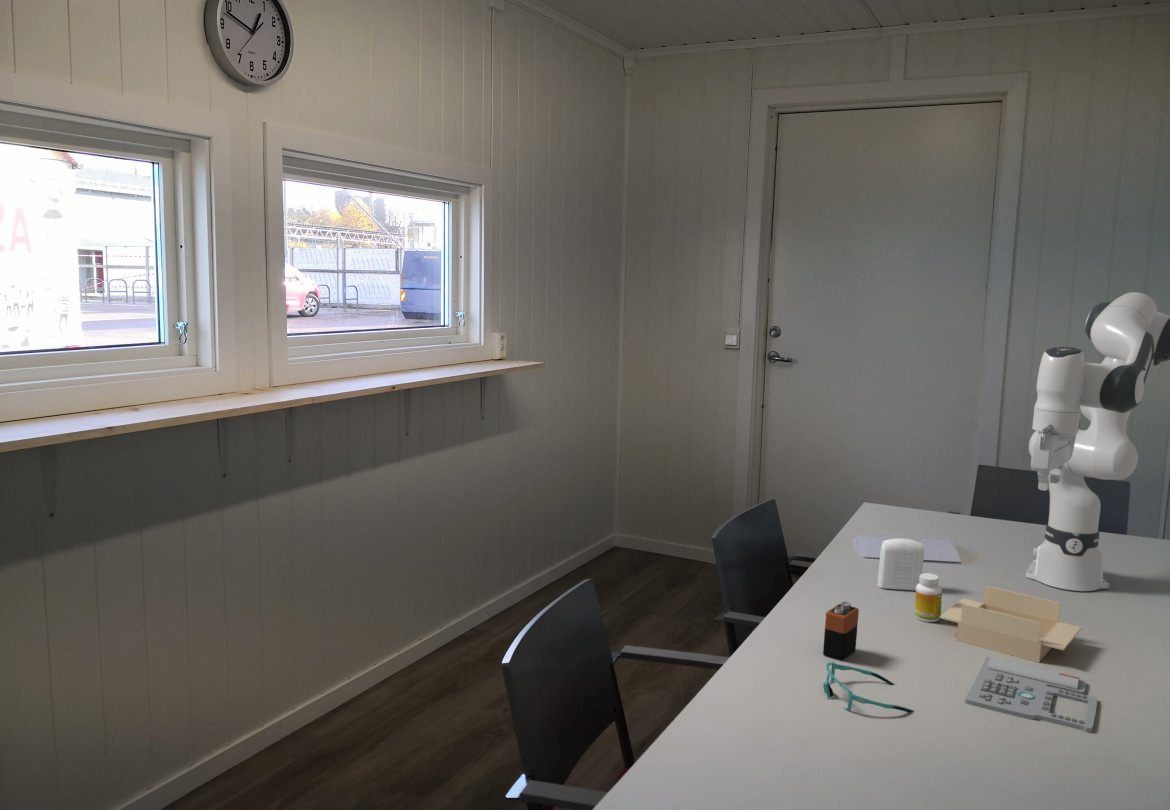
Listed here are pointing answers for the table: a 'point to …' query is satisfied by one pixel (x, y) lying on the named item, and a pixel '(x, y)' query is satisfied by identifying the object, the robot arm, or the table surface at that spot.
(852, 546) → the table surface
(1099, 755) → the table surface
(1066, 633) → the carton
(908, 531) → the table surface
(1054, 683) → the office telephone
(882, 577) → the photo printer
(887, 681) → the sunglasses
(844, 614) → the battery
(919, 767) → the table surface
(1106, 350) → the robot arm
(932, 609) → the supplement bottle
